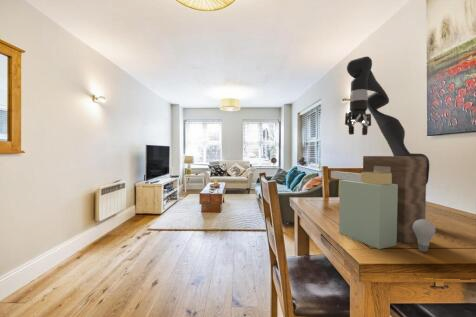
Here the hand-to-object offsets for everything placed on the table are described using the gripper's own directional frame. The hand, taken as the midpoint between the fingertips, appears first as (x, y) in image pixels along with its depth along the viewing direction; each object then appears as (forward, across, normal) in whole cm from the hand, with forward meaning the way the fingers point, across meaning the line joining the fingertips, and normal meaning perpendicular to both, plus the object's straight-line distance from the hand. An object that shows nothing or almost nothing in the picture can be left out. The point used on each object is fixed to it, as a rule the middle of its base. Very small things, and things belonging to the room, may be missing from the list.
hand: (358, 134), depth 114 cm
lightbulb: (+42, +8, +34) cm, 55 cm away
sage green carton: (+42, +16, +18) cm, 48 cm away
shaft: (+20, +16, +13) cm, 29 cm away
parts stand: (+42, +1, +18) cm, 46 cm away
